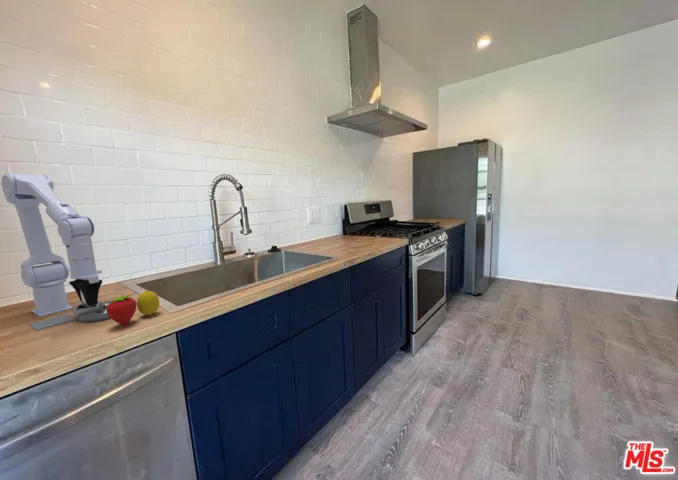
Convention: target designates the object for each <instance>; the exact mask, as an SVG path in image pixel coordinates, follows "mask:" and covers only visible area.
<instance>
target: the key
mask: <svg viewBox="0 0 678 480" xmlns="http://www.w3.org/2000/svg"><path fill="white" fill-rule="evenodd" d="M80 293H81V298H82V302H81V304H83V308H88V307H93V306H96V305H97V304H94V305H90V306H88V305H87V304H86V301H85V299H84V296H83V294H82V292H81V290H80Z"/></svg>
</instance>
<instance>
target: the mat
mask: <svg viewBox="0 0 678 480" xmlns="http://www.w3.org/2000/svg"><path fill="white" fill-rule="evenodd" d="M72 321H75V318H74V317H71V316H70V315H68V314H62V315H58V316H55V317H51V318H48V319H47V318H46V319H43V320H40V321H36V322H32V323H28V326H30V327H31V328H32V329H34V330H35V331H36V332H37V331H40V330H45V329H48V328H52V327H55V326H59V325H62V324H66V323H69V322H72Z"/></svg>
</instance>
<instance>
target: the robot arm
mask: <svg viewBox="0 0 678 480" xmlns="http://www.w3.org/2000/svg"><path fill="white" fill-rule="evenodd" d="M0 183H1V184H0V185H1V188H2V191H3V192H2V193H3V194H4V198H5V200H6V202H7V203H9V204H12V205H14V207H15V210H16V213H17V216H18V219H19V223H20V226H21V229H22V232H23V236H24V239H25V243H26V246H27V249H28V252H29V257H28V258H26V259H25V260H24V261H23V262H22V263H21V264H20V272H21V274H20V276H21V279H22V282H23V284H24V285H25V286H27V287H28V288H32V298H33V302H34V306H35V309H32V310H31V312H32V313H34V315H37V316H39V317H43V316H48V315H51V314H56V313H59V312H63V311H67V310H70V309H74V307H73V305H70V304H69V303H68V298H67V292H66V287H65V282H67V279H68V278H69V277H70V279H71V280H70V281H68V284H69V285H70V287H72V288H73V290H74V291H75V292H76V294H77V296H78V299H79V300H80V302H81V303H82V298H81V293H80V290H81V292H82V294H83V296H84V299H85V301H86V304H87V305H88V306H90V305H94V304H97V301H99V300H98V299H99V291H100V289H101V285H102V283H103V280H102V279H99V274H102V273H103V271H102V270H99V269H98V270H97V265H96V260H95V253H94V247H93V242H92V236H93V235H94V234H95V224H94V222H93V220H91V218H90V217H89V216H84V215H80V213H79V212H77V210H76V209H75V208H73V206H72V205H71V204H70V203H69V202H67V201H63V200H61V199H60V198H59V196H58V194H56V192H55V191H54V182H53V179H52V178H51V177H50V176H49V175H48V174H32V173H31V174H29V173H25V174H23V173H11V172H5V173H4V174H3V175H2V177H1V182H0ZM40 204H42V205H43V206H44V207H46V208H45V213H46V215H47V216H48V217H49V218H50V220H52V221H53V222H54V223H55V225H57V233H58V235H59V237H60V239H61V241H62V244H63V245H65V249H66V254H67V261H68V264H67V263H66V261H65V259H64V257H62V256H61V255H57V254H56V253H53V252H52V247H51V245H50V242H49V238H48V234H47V231H46V227H45V225H44V221H43V218H42V214H41V211H40V208H39V206H40Z"/></svg>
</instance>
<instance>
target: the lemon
mask: <svg viewBox="0 0 678 480" xmlns="http://www.w3.org/2000/svg"><path fill="white" fill-rule="evenodd" d="M136 303H137V305H136V308H137V310H138V312H139V313H141V314H142V315H146V316H148V317H151V316H152V315H153V314H155V313H156V312H157V311H158V310H159V308H160V299H159V297H158V295H157V293H156V292H154V291H151V290H147V289H145V290H144V291H143V292H142V293H141V294H139V296H138V298H137V301H136Z"/></svg>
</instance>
